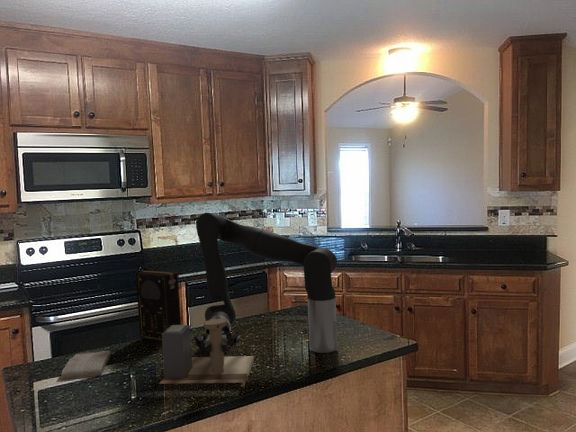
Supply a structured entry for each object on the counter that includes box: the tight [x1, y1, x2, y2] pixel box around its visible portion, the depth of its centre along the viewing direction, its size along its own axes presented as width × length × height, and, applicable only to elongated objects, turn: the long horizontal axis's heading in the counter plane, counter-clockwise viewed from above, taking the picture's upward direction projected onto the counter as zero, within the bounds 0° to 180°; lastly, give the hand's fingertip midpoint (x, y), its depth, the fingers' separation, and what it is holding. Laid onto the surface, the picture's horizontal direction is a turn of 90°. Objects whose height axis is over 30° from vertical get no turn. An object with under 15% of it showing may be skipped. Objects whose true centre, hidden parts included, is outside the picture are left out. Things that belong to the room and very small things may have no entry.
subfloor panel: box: [158, 355, 255, 387], centre depth 146 cm, size 24×20×1 cm
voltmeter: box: [135, 270, 182, 343], centre depth 180 cm, size 16×9×25 cm, turn 60°
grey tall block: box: [161, 324, 193, 378], centre depth 144 cm, size 6×8×14 cm
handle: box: [203, 319, 226, 374], centre depth 139 cm, size 5×6×15 cm
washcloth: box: [60, 350, 112, 380], centre depth 155 cm, size 12×18×3 cm, turn 11°
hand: (216, 349), depth 136 cm, fingers closed on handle, 3 cm apart
